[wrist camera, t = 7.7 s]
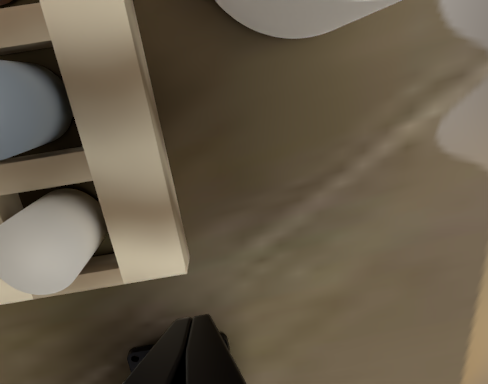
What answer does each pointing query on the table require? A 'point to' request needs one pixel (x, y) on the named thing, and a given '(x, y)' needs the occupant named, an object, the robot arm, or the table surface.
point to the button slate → (30, 107)
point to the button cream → (50, 241)
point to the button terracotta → (4, 1)
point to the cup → (299, 15)
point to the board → (101, 140)
